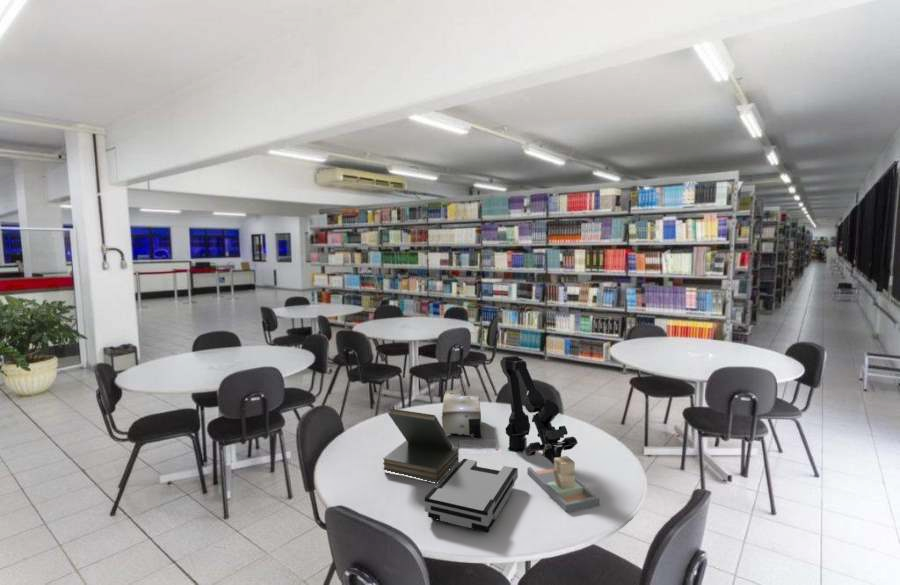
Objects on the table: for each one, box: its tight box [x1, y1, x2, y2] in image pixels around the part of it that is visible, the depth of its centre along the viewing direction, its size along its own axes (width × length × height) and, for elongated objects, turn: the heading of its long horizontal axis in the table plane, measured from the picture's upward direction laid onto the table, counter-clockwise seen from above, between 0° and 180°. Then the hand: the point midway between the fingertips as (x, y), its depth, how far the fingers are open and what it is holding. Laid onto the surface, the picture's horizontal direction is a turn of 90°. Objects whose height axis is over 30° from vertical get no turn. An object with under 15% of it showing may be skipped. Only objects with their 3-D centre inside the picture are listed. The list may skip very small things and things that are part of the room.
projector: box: [441, 388, 483, 439], centre depth 223 cm, size 18×33×13 cm, turn 178°
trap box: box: [526, 466, 600, 513], centre depth 164 cm, size 27×12×2 cm, turn 17°
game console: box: [424, 458, 519, 533], centre depth 155 cm, size 21×32×8 cm, turn 156°
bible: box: [382, 408, 460, 483], centre depth 180 cm, size 23×20×25 cm
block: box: [553, 455, 576, 490], centre depth 161 cm, size 5×5×9 cm
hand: (560, 469), depth 164 cm, fingers closed, pressing on block
